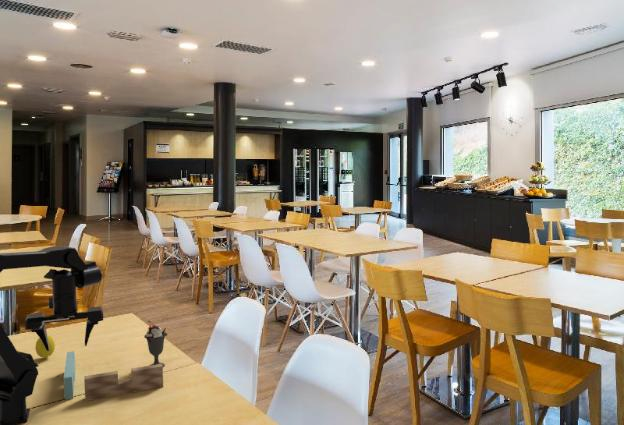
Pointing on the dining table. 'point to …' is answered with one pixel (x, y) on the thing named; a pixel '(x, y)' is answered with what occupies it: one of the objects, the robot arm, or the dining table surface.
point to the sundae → (155, 342)
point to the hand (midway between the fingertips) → (67, 348)
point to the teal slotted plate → (69, 375)
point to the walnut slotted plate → (123, 382)
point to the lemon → (42, 350)
